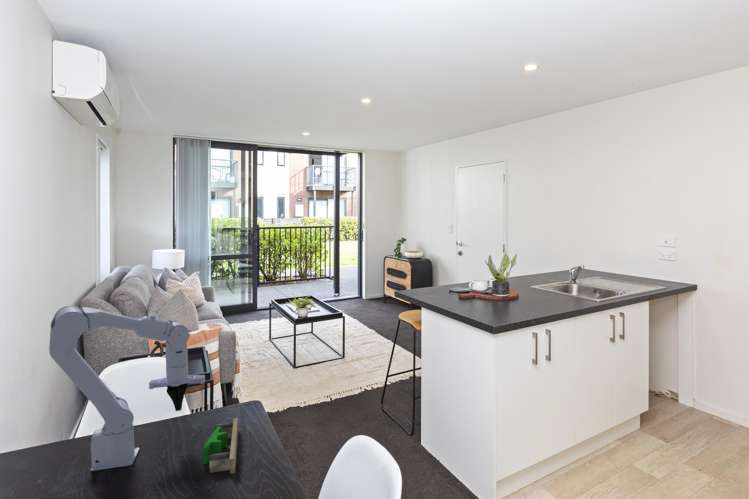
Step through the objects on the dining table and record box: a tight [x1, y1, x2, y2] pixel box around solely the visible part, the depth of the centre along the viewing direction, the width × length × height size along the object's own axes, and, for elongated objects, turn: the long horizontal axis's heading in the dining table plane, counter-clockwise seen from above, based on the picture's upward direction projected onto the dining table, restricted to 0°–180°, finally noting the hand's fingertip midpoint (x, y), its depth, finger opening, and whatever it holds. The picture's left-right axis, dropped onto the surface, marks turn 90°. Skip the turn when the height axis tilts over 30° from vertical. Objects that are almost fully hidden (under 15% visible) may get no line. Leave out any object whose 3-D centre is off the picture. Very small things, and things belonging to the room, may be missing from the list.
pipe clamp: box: [202, 427, 228, 465], centre depth 114 cm, size 11×4×5 cm, turn 2°
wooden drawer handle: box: [208, 417, 239, 475], centre depth 114 cm, size 6×22×4 cm, turn 16°
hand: (178, 409), depth 120 cm, fingers closed
